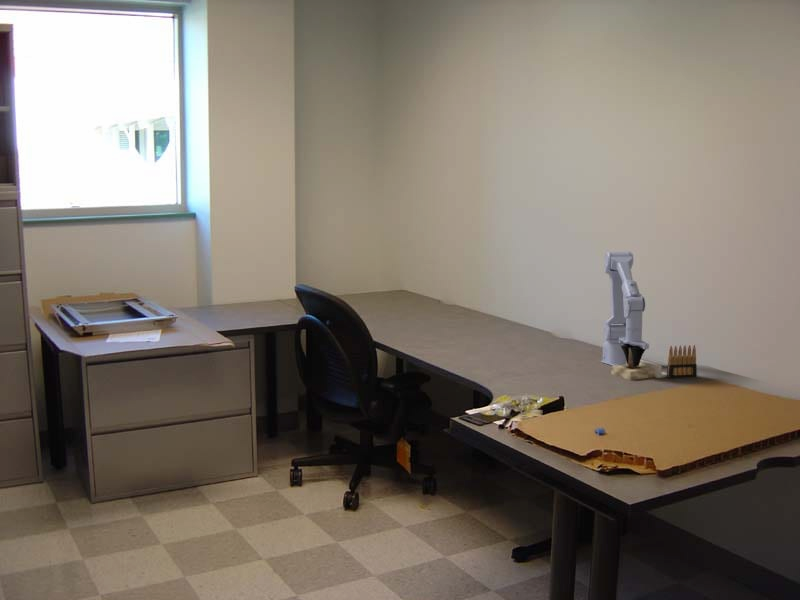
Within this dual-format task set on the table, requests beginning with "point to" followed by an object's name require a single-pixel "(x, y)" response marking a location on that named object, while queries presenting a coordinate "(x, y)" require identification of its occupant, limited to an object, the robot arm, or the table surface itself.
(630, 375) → the block
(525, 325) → the table surface
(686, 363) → the ammunition clip
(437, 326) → the table surface
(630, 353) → the dowel
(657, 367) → the white rectangular slab
